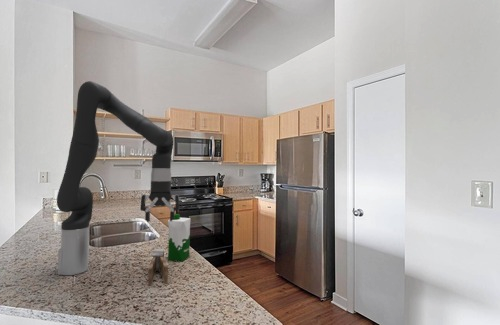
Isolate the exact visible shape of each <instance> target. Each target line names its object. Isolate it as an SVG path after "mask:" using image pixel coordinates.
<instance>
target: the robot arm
mask: <svg viewBox="0 0 500 325" xmlns="http://www.w3.org/2000/svg"><path fill="white" fill-rule="evenodd" d="M77 92H78V93H77V100H76V101H77V102H76V111H75V112H76V113H75V114H76V115H75V119H74V120H75V121H74V127H73V130H72V131H73V133H72V137H71V140H70V145H69V149H68V150H69V151H68V157H67V161H66V166H65V170H64V173H63V177H62V179H61V180H62V181H61V183H60V186H59V189H58V192H57V196H56V206H57V208H58V209H59V211H61V212H63V213H70V212H71V213H70V215H69V216H68V217H67V218H66V219H64V220H63V221H62V222H61V226H60V227H61V232H60V235H61V236H60V248H59V249H58V251H57V252H58V253H57V254H58V258H57V275H60V276H73V275H78V274H82V273H85V272H87V271H88V270H89V256H90V255H89V254H90V253H89V252H90V251H89V250H90V249H89V248H90V246H89V245H90V222H91V220H92V216H93V204H94V198H93V197H94V196H93V192H92V191H91V190H90V188H87V187H86V186H82V187H81V186H80V185H81V181H82V178H83V176H84V175H85V173H86V172H87V171H88V170H89V168H90V167H91V166H92V164H93V163H94V162H95V160H96V158H97V154H98V149H99V146H100V141H99V140H100V138H99V134H98V130H97V129H98V128H97V125H96V115H97V110H98V109H100V110H103V111H105V112H108V113H109V114H110V115H113V116H114V117H116V118H118V120H120V122H122V124H124V125H125V126H126V127H128V128H129V129H130V130H132V131H133V132H135V133H137V134H138V135H140V136H142V138H144V139H145V141H148V142H149V143H150V144H152V145H153V146H155V147H156V149H155V153H154V154H153V155H152V156H151V172H150V193H149V194H142V195H141V198H140V211H142V212H144V214H145V215H144V216H145V218H144V219H145V221H146V222H147V223H149V222H151V221H150V220H151V209H152V208H153V207H154V206H156V207H159V206H161V207H165V206H167V208H168V209H169V210H170V214H169V215H170V216H169V217H170V218H169V220H170V221H172V220H173V219H174V214H175V212H176V211H179V209H180V195H179V194H172V191H171V190H172V172H171V170H172V169H171V167H172V166H171V165H172V164H171V163H172V154H173V150H174V149H173V148H174V136H173V134H172V133H171V132H170V131H168V130H166V129H163V128H162V127H160V126H158V125H157V124H155V123H154V122H153V121H152V120H150V119H149V118H147V117H146V116H145V115H143V114H141V113H140V112H138V111H136V110H135V109H133V108H131V107H130V106H128V105H127V104H125V103H123V101H121V100H120V99H119V98H118V97H117V96H116V95H115V94H113V93H112V92H111V91H110V90H109V89H108V88H107V87H106V86H103V85H101V84H99V83H97V82H95V81H88V80H87V81H85V82H83V83H82V84H81V85H80V87H79V88H78V91H77ZM148 199H149V200H150V201H151V202H150V204H149V205H148V206H147V207H146V201H147V200H148ZM171 199H173V201H175V204H174V205H175V206H173V205H172V203H171V202H170V201H171Z"/></svg>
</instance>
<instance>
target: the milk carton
mask: <svg viewBox="0 0 500 325" xmlns="http://www.w3.org/2000/svg"><path fill="white" fill-rule="evenodd" d="M167 226H168V251H167V252H168V253H167V261H172V262H180V263H181V262H182V263H183V262H184V261H185V260H187V259H188V258H189V257H190V247H191V245H190V244H191V243H190V242H191V241H190V239H191V237H190V236H191V218H190V217H189V218H188V217H181V215H180V213H174V219H173V220H172V221H170V219H168V220H167Z"/></svg>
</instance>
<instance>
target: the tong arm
mask: <svg viewBox="0 0 500 325" xmlns="http://www.w3.org/2000/svg"><path fill="white" fill-rule="evenodd" d="M155 257H156V271H158V272H160V275H161V278H162V280H163V283H164V284H167V283H169V279H168V278H169V265H168V264H167V261H166V260H165V257H164V258H163V256H155Z"/></svg>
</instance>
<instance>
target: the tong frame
mask: <svg viewBox="0 0 500 325" xmlns="http://www.w3.org/2000/svg"><path fill="white" fill-rule="evenodd" d="M155 256H163V258H164V259H165V248H155V249H153V252H152V254H151V257H152V259H151V262H150V264H149V267H148V271H147V274H148V276H147V279H148V280H147V283H148V284H147V286H148V287H152V285H153V282H154V279H155V275H156V271H157V270H156V257H155Z"/></svg>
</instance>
